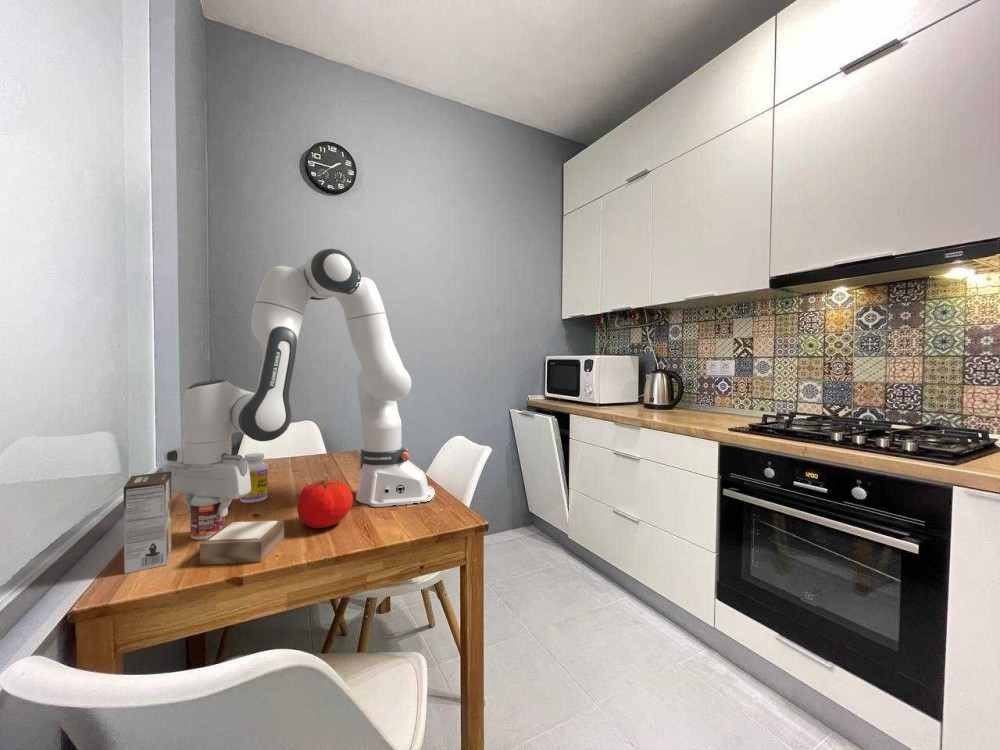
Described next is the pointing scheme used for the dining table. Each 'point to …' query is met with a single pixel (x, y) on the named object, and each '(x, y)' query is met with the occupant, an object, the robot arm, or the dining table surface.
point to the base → (242, 542)
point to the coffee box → (147, 521)
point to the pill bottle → (204, 515)
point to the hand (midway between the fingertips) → (207, 514)
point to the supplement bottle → (256, 478)
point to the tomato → (324, 503)
